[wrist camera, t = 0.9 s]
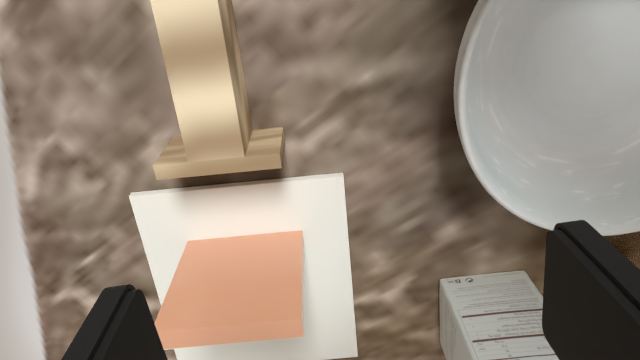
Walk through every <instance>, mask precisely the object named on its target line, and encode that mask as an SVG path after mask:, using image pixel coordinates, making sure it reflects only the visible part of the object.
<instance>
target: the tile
mask: <svg viewBox="0 0 640 360" xmlns="http://www.w3.org/2000/svg"><path fill="white" fill-rule="evenodd" d="M155 327H156V329H157V332H158V335H159V338H160V340H161V343H162V346H163V349H164V350H168V349H179V348H190V347H201V346H213V345H224V344H235V343H246V342H257V341H269V340H280V339H291V338H301V337H304V238H303V230H298V231H288V232H277V233H266V234H255V235H245V236H234V237H223V238H212V239H202V240H191V241H187V244H186V246H185V249H184V251H183V254H182V256H181V259H180V261H179V264H178V266H177V269H176V271H175V274H174V276H173V279H172V281H171V284H170V286H169V289H168V291H167V294H166V296H165V299H164V301H163V304H162V306H161V309H160V311H159V314H158V316H157V319H156V321H155Z"/></svg>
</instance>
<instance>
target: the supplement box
mask: <svg viewBox="0 0 640 360" xmlns="http://www.w3.org/2000/svg"><path fill="white" fill-rule="evenodd" d="M439 302H440V343H441V346H442V349H443V352H444V355H445V358H446V360H559V359H558V357H557V356H556V354H555V353H554V351H553V349H552V348H551V346H550V345H549V343H548V342H547V340H546V338H545V336H544V333H543V329H542V311H543V296H542V295H541V293H540V292H539V291H538V289H537V288H536V286H535V285H534V283H533V282H532V281H531V279H530V278H529V276H528V275H527V273H526V272H525V271H509V272H498V273H489V274H479V275H469V276H460V277H451V278H443V279H440V290H439Z"/></svg>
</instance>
